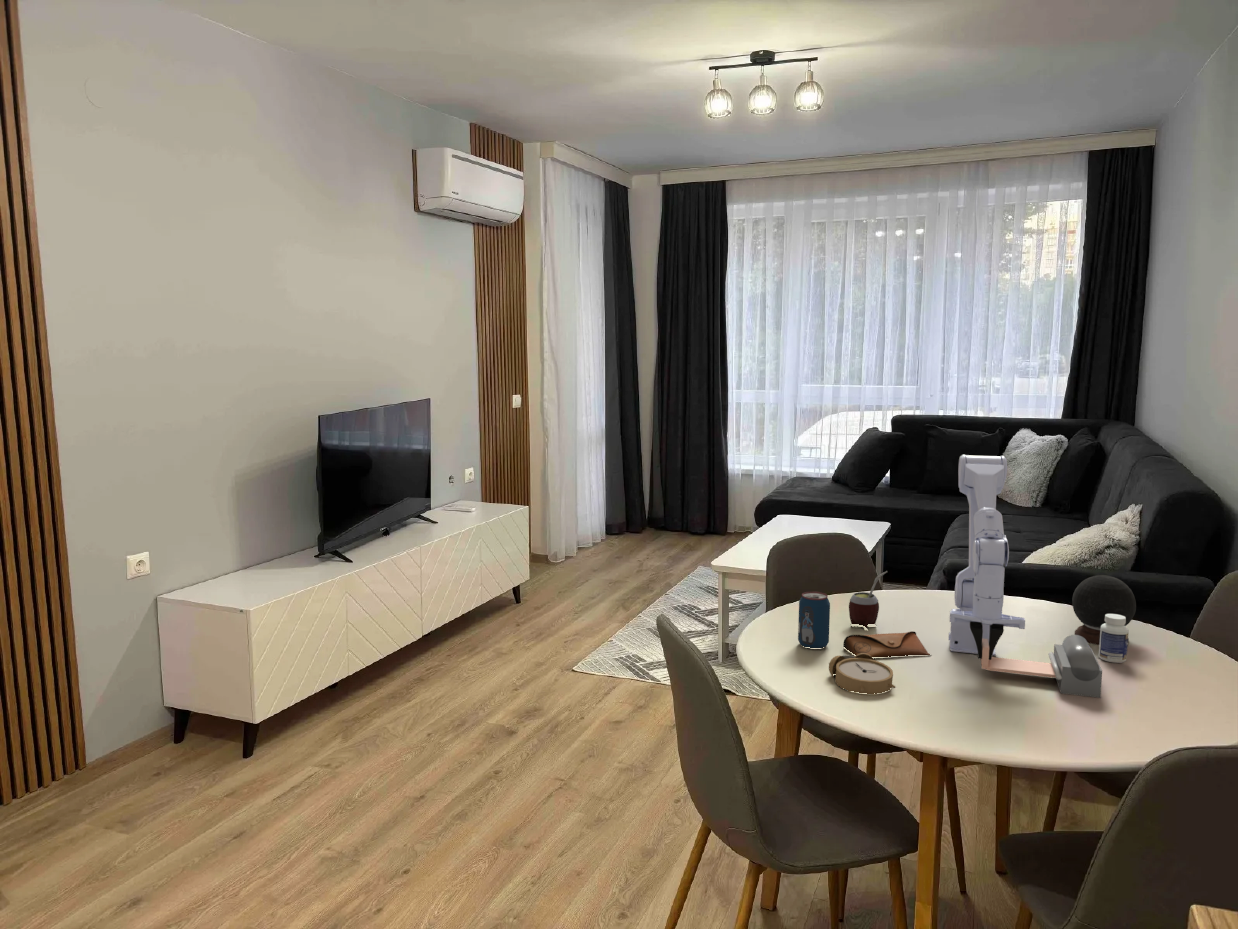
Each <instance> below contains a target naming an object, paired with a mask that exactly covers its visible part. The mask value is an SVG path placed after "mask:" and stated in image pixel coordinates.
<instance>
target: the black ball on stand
mask: <svg viewBox="0 0 1238 929" xmlns="http://www.w3.org/2000/svg"><path fill="white" fill-rule="evenodd" d="M1076 586H1077V587H1076V588H1075V589H1074V592H1073V594H1072V598H1071V599H1072V603H1071V604H1072V608H1073V609H1072V610H1073V612H1074V614H1075V616H1076V618H1077V619H1078V620H1079V622H1081V623H1082V625H1079V626H1077V628H1076V629H1075V630H1074V634H1073V635H1079V636H1082V637H1083V638H1085V639H1086V641H1087V642H1088V644H1093V645H1097V646H1099V642H1100V628H1101V625H1102V624H1104V623H1106V622H1105V615H1106V614H1118V615H1122V616H1124V617H1126V623H1125V625H1124V626H1126V627H1127V625H1129V624H1130V623H1131V622H1132V620H1133V618H1134V616H1135V614H1136V610H1137V601H1136V597H1135V595H1134V593H1133V591H1132V589H1131V588H1130V586H1128V585H1127V584H1126V583H1125V582H1124V581H1122V580H1121V579H1119V578H1118V577H1115V576H1111V575H1106V574H1100V575H1099V574H1098V575H1097V574H1096V575H1093V576H1090V577H1087V578H1085V579H1083V580H1082V581H1081V582H1080V583H1079V584H1078V585H1076ZM1128 642H1129V638H1128Z"/></svg>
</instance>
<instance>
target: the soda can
mask: <svg viewBox="0 0 1238 929" xmlns="http://www.w3.org/2000/svg"><path fill="white" fill-rule="evenodd" d="M830 615H831V601H830V600H829V598H828V594H827V593H824V592H821V591H806V592H802V593H801V597H800V599H799V600H798V628H797V630H798V631H797V640H798V642H799V644H800V646H801V645H802V646H804V647H810V648H823V647H825V648H826V647H827V646H828V644H829V642H830V623H831V620H830V619H831V618H830ZM802 646H801V647H802Z"/></svg>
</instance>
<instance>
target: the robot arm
mask: <svg viewBox="0 0 1238 929" xmlns="http://www.w3.org/2000/svg"><path fill="white" fill-rule="evenodd" d="M957 473H958V488H959V492H960V493H962V494H964V495H965V496H966V497H967V503H968V506H969V508H968V511H969V512H968V513H969V514H968V515H969V516H968V519H969V520H968V566H967V567H966V568H964V569H963V570H960V571H959V572H957V575H956V576H955V585H954V605H955V607H956V608H951V610H950V611H949V623H950V628H949V630H950V632H948V641H949V651H950V650H951V651H950V652H959V653H967V654H974V655H977V658H978V659H979V660H981V659H982V638H983V639H988V643H989V660H991V659H992V657H995V656H996V654H997V653H996V646H997V644H998V641H999V640H1000V639H1001V638H1002V636H1003V634H1004V631H1005V629H1004V628H1005V627H1009V628H1017V629H1019V630H1025V629H1026V619H1025V617H1020V616H1016V615H1008V614H1003V606H1004V597H1005V595H1004V587H1005V583H1004V582H1005V569H1006V567H1007V566H1008V562H1009V558H1010V556H1009V555H1010V549H1009V548H1010V547H1009V546H1010V545H1009V541H1008V539H1007V534H1005V531H1004V522H1003V515H1002V513H1001V512H1000V511H999V510H997V495H1000V494H1002V492H1003V491H1002V490H1004V487H1005V484H1006V480H1007V476H1008V459H1007V458H1006V457H1005V455H1000V456H997V455H969V454H961V455H960V456H959V459H958V472H957Z"/></svg>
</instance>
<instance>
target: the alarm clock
mask: <svg viewBox="0 0 1238 929" xmlns="http://www.w3.org/2000/svg"><path fill="white" fill-rule="evenodd" d="M828 671H829V674H830V675H831V676H832V677H833V678H835V684H836V685H837V686H838V687H839V686H840V687H839V688H841V689H842V688H844V689H846V690H848V691H854V692H859V693H867V694H874V693H875V694H877V693H882V692H885V691H888V690H890V688H892V689H895V688H896V685H894V684H893V677H894V671H893V670H892V669H891V667H890V666H888V665H887V664H885V663H884V662H882V661H878V660H876V659H873V658H872V657H871V656H870V655H869V654H866V653H860V654H858V655H856V656H853V655H846V654H845V655H844V654H843V655H835V656H833V657H832V658H831V660H830V661H829V662H828ZM833 674H836V675H835V676H833ZM844 689H843V690H844ZM846 690H845V691H846ZM848 691H847V692H848ZM890 691H891V690H890Z"/></svg>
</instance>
